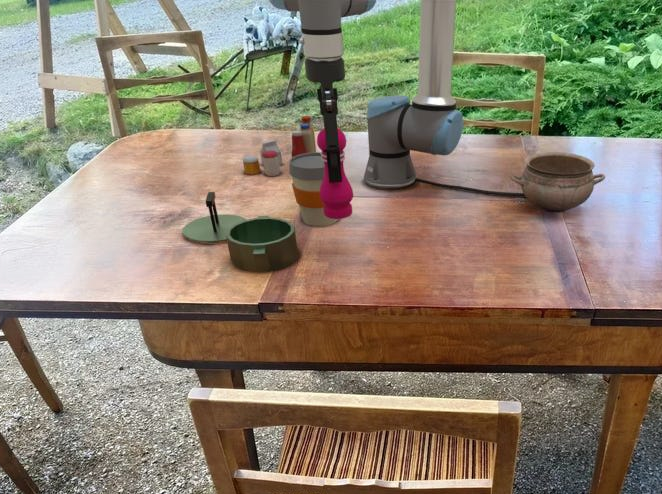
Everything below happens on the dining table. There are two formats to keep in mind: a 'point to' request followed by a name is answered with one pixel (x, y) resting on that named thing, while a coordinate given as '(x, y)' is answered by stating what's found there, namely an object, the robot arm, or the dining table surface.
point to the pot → (262, 244)
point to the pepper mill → (335, 193)
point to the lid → (210, 224)
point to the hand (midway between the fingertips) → (334, 176)
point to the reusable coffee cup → (309, 187)
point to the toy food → (272, 154)
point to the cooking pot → (557, 180)
